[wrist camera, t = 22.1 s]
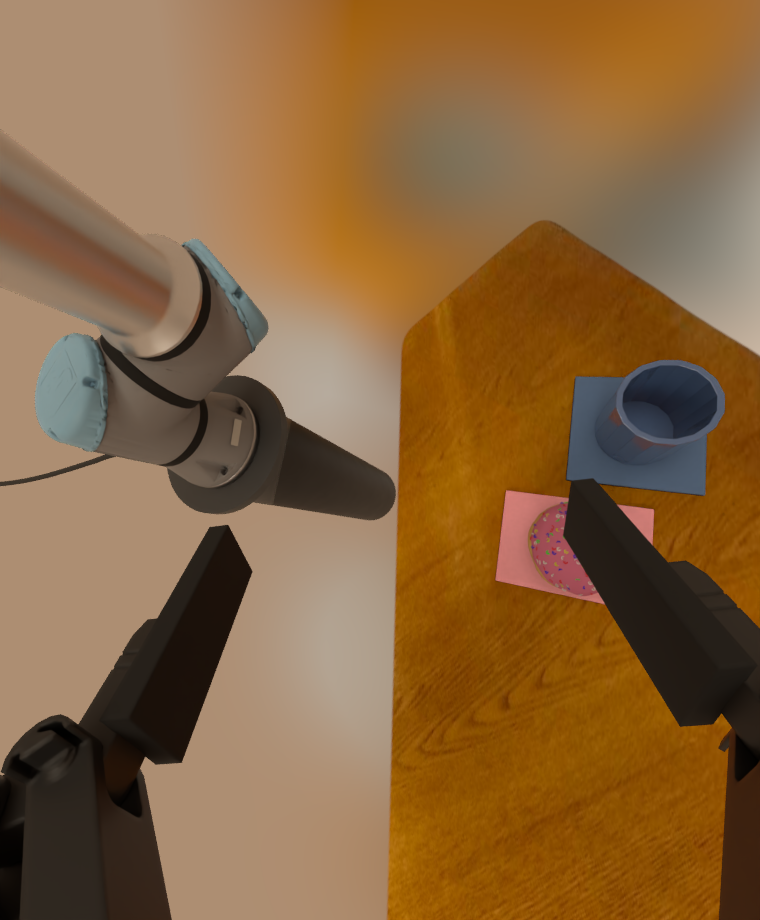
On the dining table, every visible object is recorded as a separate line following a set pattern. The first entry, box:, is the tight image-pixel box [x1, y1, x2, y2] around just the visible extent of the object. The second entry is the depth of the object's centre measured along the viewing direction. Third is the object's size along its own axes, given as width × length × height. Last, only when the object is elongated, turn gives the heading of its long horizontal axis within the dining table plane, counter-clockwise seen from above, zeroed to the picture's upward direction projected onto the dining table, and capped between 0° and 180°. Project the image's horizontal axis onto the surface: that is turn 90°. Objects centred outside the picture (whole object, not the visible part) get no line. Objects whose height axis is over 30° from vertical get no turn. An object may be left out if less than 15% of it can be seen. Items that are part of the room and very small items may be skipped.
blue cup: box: [595, 360, 725, 465], centre depth 34 cm, size 7×7×9 cm
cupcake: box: [528, 502, 598, 596], centre depth 32 cm, size 9×8×12 cm
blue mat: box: [566, 377, 707, 496], centre depth 38 cm, size 12×12×1 cm
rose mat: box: [496, 490, 654, 604], centre depth 37 cm, size 14×10×1 cm
